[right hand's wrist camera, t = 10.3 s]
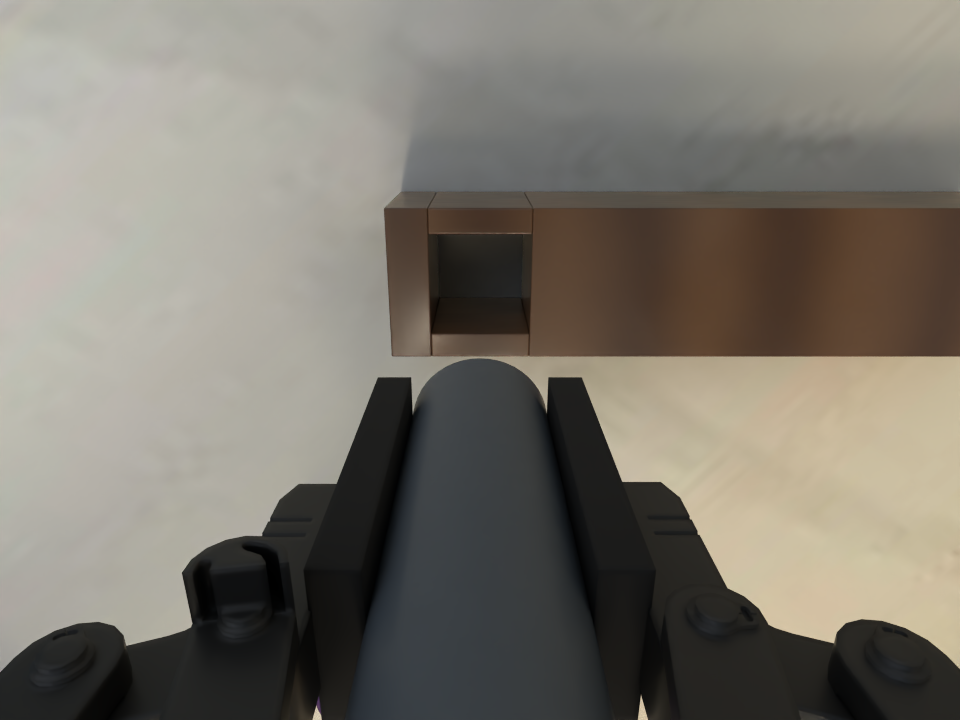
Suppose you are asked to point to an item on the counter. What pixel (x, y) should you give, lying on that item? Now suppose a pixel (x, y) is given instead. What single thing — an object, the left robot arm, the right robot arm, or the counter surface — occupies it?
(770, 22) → the counter surface
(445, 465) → the peg
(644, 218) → the peg board
